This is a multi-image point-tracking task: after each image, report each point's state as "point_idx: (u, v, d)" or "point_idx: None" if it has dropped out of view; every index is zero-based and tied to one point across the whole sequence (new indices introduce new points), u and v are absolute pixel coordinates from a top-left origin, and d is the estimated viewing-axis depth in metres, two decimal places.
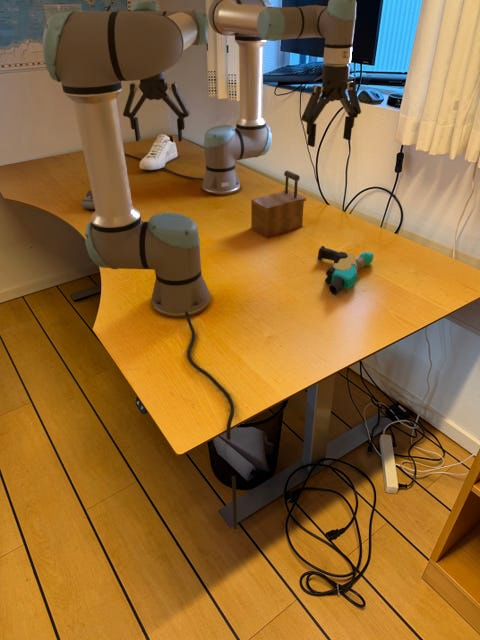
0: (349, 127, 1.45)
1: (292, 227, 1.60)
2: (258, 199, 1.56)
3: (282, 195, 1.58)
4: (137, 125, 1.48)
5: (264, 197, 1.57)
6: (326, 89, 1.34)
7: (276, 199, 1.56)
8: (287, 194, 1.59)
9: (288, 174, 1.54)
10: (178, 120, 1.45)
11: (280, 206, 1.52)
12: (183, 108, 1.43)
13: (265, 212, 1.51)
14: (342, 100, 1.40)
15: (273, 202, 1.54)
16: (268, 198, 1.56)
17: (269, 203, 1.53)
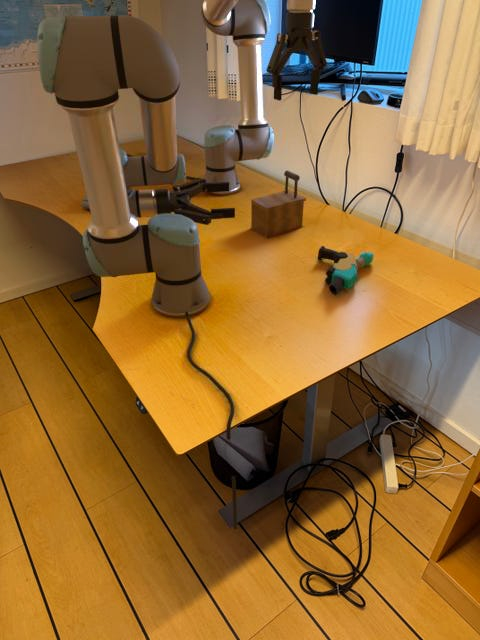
0: None
1: (292, 227, 1.60)
2: (258, 199, 1.56)
3: (282, 195, 1.58)
4: None
5: (264, 197, 1.57)
6: None
7: (276, 199, 1.56)
8: (287, 194, 1.59)
9: (288, 174, 1.54)
10: (207, 183, 1.37)
11: (280, 206, 1.52)
12: (195, 181, 1.38)
13: (265, 212, 1.51)
14: None
15: (273, 202, 1.54)
16: (268, 198, 1.56)
17: (269, 203, 1.53)
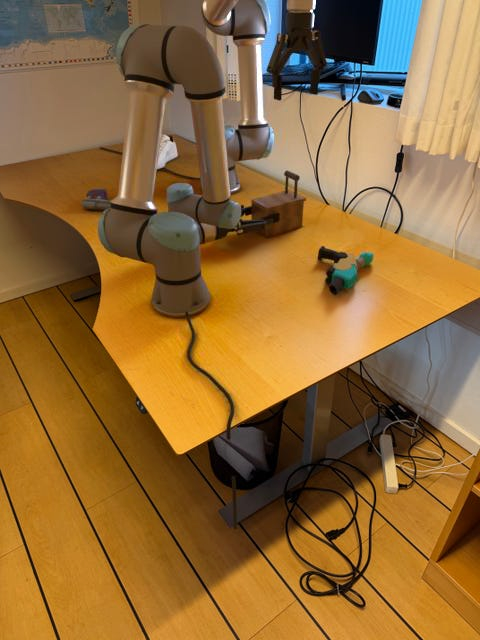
0: None
1: (292, 227, 1.60)
2: (258, 199, 1.56)
3: (282, 195, 1.58)
4: None
5: (264, 197, 1.57)
6: None
7: (276, 199, 1.56)
8: (287, 194, 1.59)
9: (288, 174, 1.54)
10: (246, 207, 1.57)
11: (280, 206, 1.52)
12: None
13: (265, 212, 1.51)
14: None
15: (273, 202, 1.54)
16: (267, 198, 1.57)
17: (269, 203, 1.53)
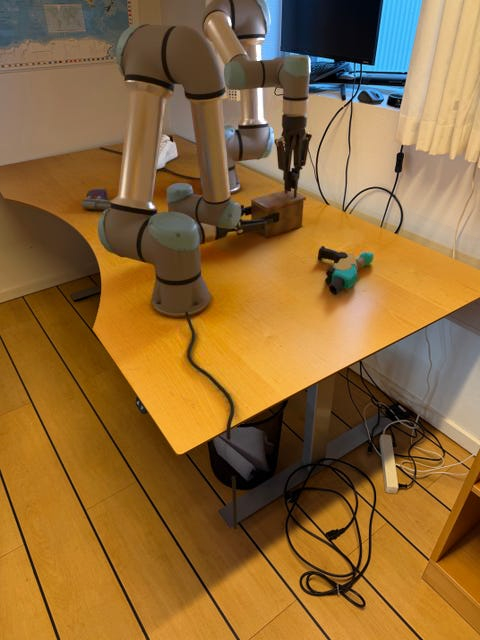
0: None
1: (292, 227, 1.60)
2: (258, 199, 1.56)
3: (282, 195, 1.58)
4: None
5: (264, 197, 1.57)
6: None
7: (276, 199, 1.56)
8: (287, 193, 1.59)
9: None
10: (246, 207, 1.57)
11: (280, 206, 1.52)
12: None
13: (265, 212, 1.51)
14: None
15: (273, 202, 1.54)
16: (267, 198, 1.56)
17: (269, 203, 1.53)
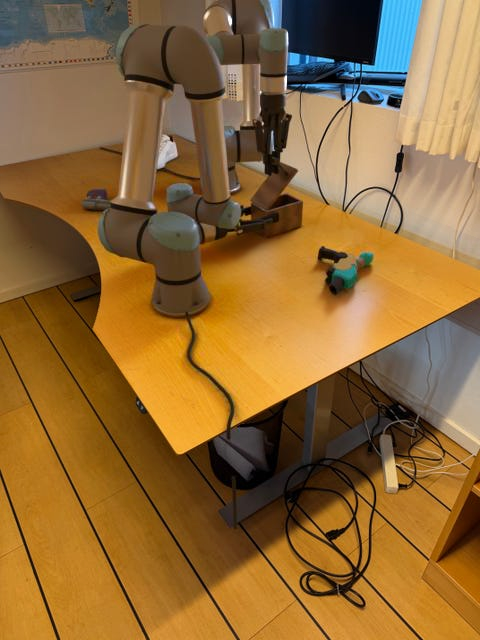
0: None
1: (292, 227, 1.60)
2: (255, 196, 1.55)
3: (275, 177, 1.53)
4: None
5: (260, 190, 1.55)
6: None
7: (270, 187, 1.52)
8: (279, 172, 1.53)
9: None
10: (245, 207, 1.57)
11: (276, 197, 1.50)
12: None
13: (264, 212, 1.51)
14: None
15: (269, 195, 1.51)
16: (263, 190, 1.54)
17: (266, 199, 1.51)
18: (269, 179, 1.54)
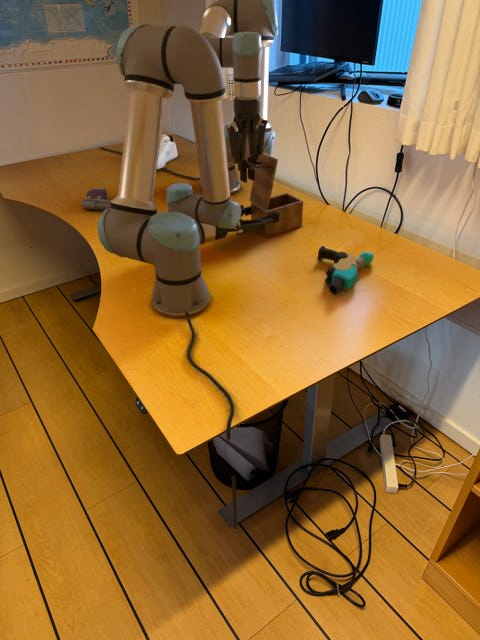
0: None
1: (292, 226, 1.60)
2: (252, 196, 1.54)
3: (260, 172, 1.49)
4: None
5: (253, 188, 1.53)
6: None
7: (261, 184, 1.49)
8: (262, 164, 1.48)
9: None
10: (245, 207, 1.57)
11: (270, 194, 1.48)
12: None
13: (265, 212, 1.51)
14: None
15: (262, 193, 1.50)
16: (256, 188, 1.52)
17: (261, 198, 1.50)
18: (257, 174, 1.50)
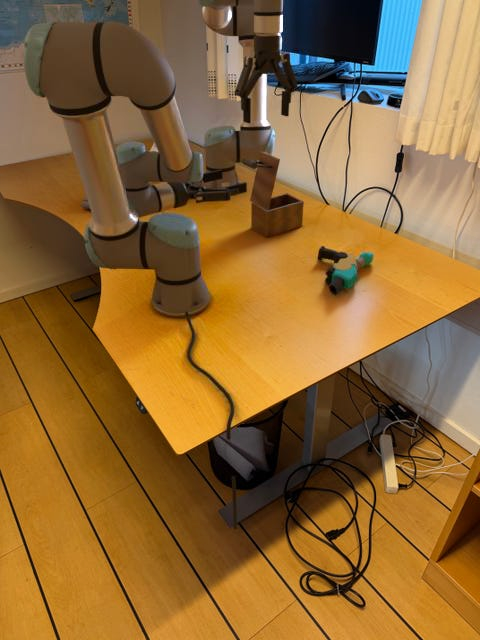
0: None
1: (292, 227, 1.60)
2: (253, 196, 1.54)
3: (262, 172, 1.49)
4: None
5: (254, 188, 1.53)
6: None
7: (262, 184, 1.50)
8: (263, 164, 1.48)
9: (246, 165, 1.44)
10: (204, 173, 1.44)
11: (271, 193, 1.48)
12: None
13: (265, 212, 1.52)
14: None
15: (263, 193, 1.50)
16: (257, 187, 1.52)
17: (262, 197, 1.51)
18: (258, 174, 1.51)
